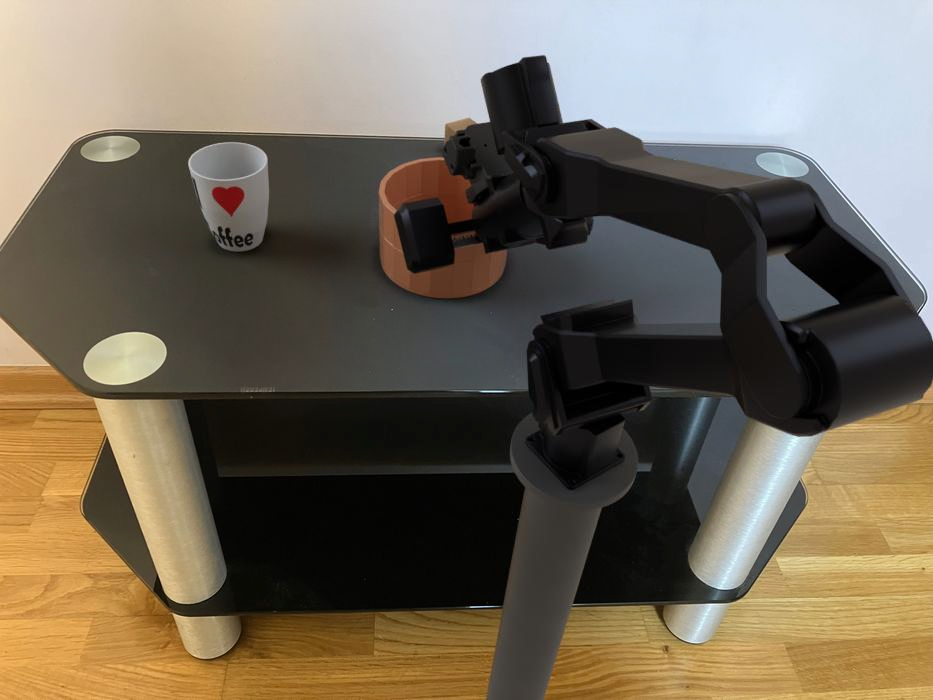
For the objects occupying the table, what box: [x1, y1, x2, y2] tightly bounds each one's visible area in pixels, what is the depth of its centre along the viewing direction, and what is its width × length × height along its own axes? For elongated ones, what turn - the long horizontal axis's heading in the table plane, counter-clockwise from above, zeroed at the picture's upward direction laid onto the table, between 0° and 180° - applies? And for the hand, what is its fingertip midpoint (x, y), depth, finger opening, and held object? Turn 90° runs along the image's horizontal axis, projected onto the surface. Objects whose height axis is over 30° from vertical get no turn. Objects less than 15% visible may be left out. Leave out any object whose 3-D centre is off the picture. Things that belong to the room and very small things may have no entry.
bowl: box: [378, 156, 508, 299], centre depth 86 cm, size 14×14×9 cm
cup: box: [187, 141, 270, 252], centre depth 86 cm, size 8×8×10 cm
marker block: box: [443, 117, 479, 146], centre depth 106 cm, size 4×4×4 cm
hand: (467, 238), depth 81 cm, fingers open, 9 cm apart
